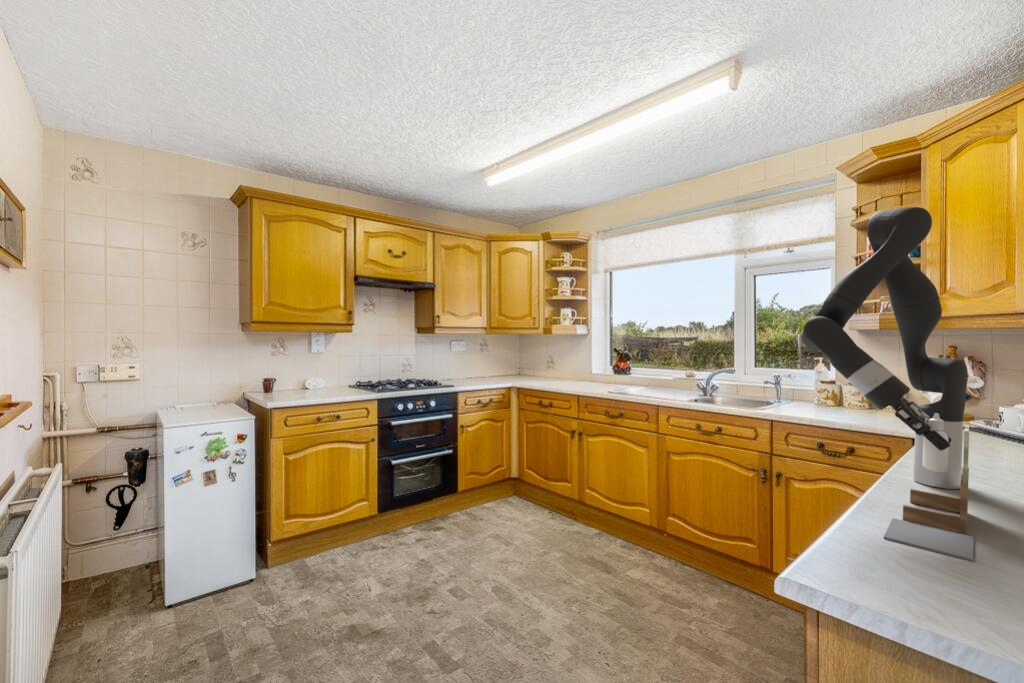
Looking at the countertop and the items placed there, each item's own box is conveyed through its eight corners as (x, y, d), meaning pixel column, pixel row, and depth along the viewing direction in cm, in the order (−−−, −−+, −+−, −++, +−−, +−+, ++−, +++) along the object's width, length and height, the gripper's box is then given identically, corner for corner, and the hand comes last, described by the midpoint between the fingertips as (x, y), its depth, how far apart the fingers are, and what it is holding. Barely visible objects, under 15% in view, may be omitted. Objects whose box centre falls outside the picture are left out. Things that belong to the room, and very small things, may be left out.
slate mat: (892, 519, 97) (892, 518, 97) (973, 538, 88) (973, 536, 88) (883, 538, 88) (883, 536, 88) (973, 561, 79) (973, 558, 79)
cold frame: (910, 501, 108) (912, 416, 108) (967, 513, 101) (970, 422, 101) (902, 520, 97) (905, 425, 96) (966, 534, 90) (969, 432, 90)
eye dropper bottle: (950, 469, 99) (952, 413, 99) (946, 474, 96) (948, 416, 95) (923, 464, 103) (925, 410, 102) (918, 469, 99) (920, 413, 99)
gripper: (888, 375, 99) (964, 440, 91) (896, 372, 109) (965, 430, 101) (857, 397, 103) (927, 462, 95) (867, 392, 113) (932, 449, 105)
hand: (946, 445), depth 98 cm, fingers closed on eye dropper bottle, 5 cm apart
